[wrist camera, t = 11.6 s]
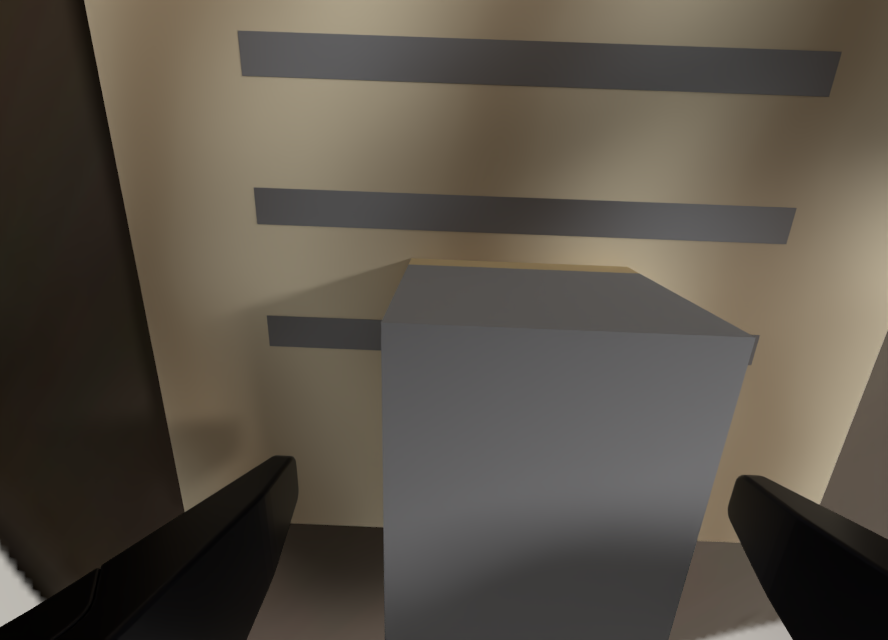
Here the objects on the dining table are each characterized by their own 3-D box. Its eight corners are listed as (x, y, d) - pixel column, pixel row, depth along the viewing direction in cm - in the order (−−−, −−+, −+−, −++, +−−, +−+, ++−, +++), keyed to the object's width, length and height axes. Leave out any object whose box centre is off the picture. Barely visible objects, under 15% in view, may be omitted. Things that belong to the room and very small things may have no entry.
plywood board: (1181, -643, 7) (1334, -814, 5) (774, 514, 14) (804, 546, 13) (8, -671, 7) (-84, -845, 6) (207, 490, 14) (185, 519, 13)
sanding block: (627, 266, 10) (756, 337, 6) (579, 536, 13) (644, 723, 8) (411, 258, 10) (381, 322, 6) (408, 529, 13) (385, 711, 8)
